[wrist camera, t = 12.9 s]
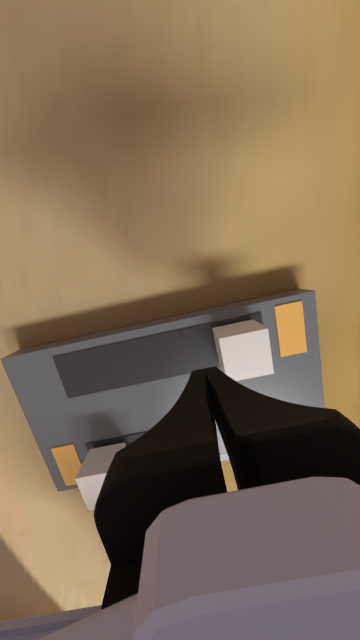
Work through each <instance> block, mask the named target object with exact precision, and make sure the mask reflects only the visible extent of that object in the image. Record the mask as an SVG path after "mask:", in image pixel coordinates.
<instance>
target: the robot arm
mask: <svg viewBox="0 0 360 640" xmlns="http://www.w3.org/2000/svg"><path fill="white" fill-rule="evenodd" d="M215 421H216V422H215ZM216 423H217V426H218V429H219V432H220V435H221V437H222V440H223V443H224V446H225V449H226V451H227V454H228V457H229V460H230V463H231V466H232V469H233V472H234V476H235V480H236V484H237V488H238V490H237V491H231V492H227V489H226V485H225V480H224V475H223V471H222V466H221V460H220V452H219V445H218V437H217V429H216ZM94 519H95V523H96V528H97V530H98V533H99V535H100V538H101V540H102V543H103V545H104V548H105V550H106V553H107V555H108V558H109V560H110V563H111V568H110V572H109V577H108V581H107V585H106V590H105V594H104V598H103V603H102V605H100V606H94V607H88V608H82V609H75V610H69V611H63V612H57V613H51V614H45V615H39V616H33V617H26V618H20V619H14V620H8V621H2V622H0V640H360V429H359V428H358V427H357V426H356V425H355V424H354V423H353V422H351V421H350V420H349V419H348V418H346V417H345V416H344V415H343V414H341V413H340V412H339V411H337V410H335V409H327V408H319V407H311V406H305V405H300V404H295V403H290V402H286V401H282V400H279V399H275V398H272V397H269V396H266V395H263V394H261V393H258V392H256V391H254V390H251V389H249V388H247V387H245V386H243V385H242V384H240V383H238V382H236V381H235V380H233V379H232V378H230V377H229V376H228V375H226V374H225V373H224V372H222V371H221V370H220V369H219V368H217V367H216V366H213V367H208V368H203V369H199V370H194V371H192V372H191V374H190V377H189V380H188V382H187V384H186V386H185V388H184V390H183V392H182V394H181V395H180V397H179V398H178V400H177V402H176V403H175V404H174V406H173V407H172V408H171V409H170V411H169V412H168V413H167V414H166V415H165V416H164V417H163V418H162V419H161V420H160V421H159V422H158V423H157V424H156V425H155V426H153V427H152V428H151V429H150V430H149V431H147V432H146V433H145V434H143V435H142V436H141V437H139V438H138V439H137V440H135V441H134V442H132V443H130V444H129V445H127V446H126V447H124V448H123V449H121V450H119V451H118V452H116V453H115V456H114V458H113V460H112V462H111V464H110V466H109V469H108V471H107V474H106V476H105V479H104V482H103V485H102V487H101V490H100V493H99V496H98V498H97V501H96V504H95V511H94Z"/></svg>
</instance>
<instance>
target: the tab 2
mask: <svg viewBox="0 0 360 640" xmlns="http://www.w3.org/2000/svg"><path fill="white" fill-rule="evenodd" d="M212 329H213V335H214V340H215V345H216V350H217V355H218V360H219V365H220V368H221V370H222V372H224V373H225V374H226V375H228V376H229V377H230V378H232V379H233V380H235V381H240V380H245V379H249V378H254V377H259V376H264V375H269V374H274V369H273V362H272V354H271V347H270V339H269V332H268V328H266V327H265V326H263V325H262V324H260V323H258V322H257V321H255V320H254V319H252V320H247V321H243V322H238V323H233V324H229V325H224V326H219V327H215V328H212Z"/></svg>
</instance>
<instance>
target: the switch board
mask: <svg viewBox="0 0 360 640" xmlns="http://www.w3.org/2000/svg"><path fill="white" fill-rule="evenodd" d="M252 319H254V320H255V321H257V322H258V323H260V324H262V325H263V326H265V327H266V328H268V332H269V339H270V347H271V354H272V362H273V369H274V374H269V375H264V376H259V377H254V378H249V379H245V380H240V381H236V382H238V383H240V384H242V385H243V386H245V387H247V388H249V389H251V390H254V391H256V392H258V393H261V394H263V395H266V396H269V397H272V398H275V399H279V400H282V401H286V402H290V403H295V404H300V405H305V406H311V407H319V408H324V397H323V385H322V373H321V360H320V348H319V336H318V324H317V312H316V300H315V291H313V290H306V289H296V290H291V291H286V292H282V293H277V294H273V295H268V296H263V297H259V298H254V299H250V300H245V301H241V302H236V303H231V304H227V305H222V306H218V307H213V308H209V309H204V310H199V311H195V312H190V313H186V314H181V315H177V316H172V317H167V318H163V319H158V320H154V321H149V322H145V323H140V324H135V325H131V326H126V327H122V328H117V329H112V330H108V331H103V332H99V333H94V334H90V335H85V336H80V337H76V338H71V339H67V340H62V341H58V342H53V343H48V344H44V345H39V346H35V347H30V348H26V349H21V350H18V351H16V352H14V353H12V354H10V355H8V356H6V357H4V358H2V359H1V361H2V364H3V366H4V368H5V371H6V373H7V375H8V377H9V380H10V382H11V384H12V387H13V389H14V391H15V394H16V396H17V398H18V400H19V403H20V405H21V407H22V410H23V412H24V414H25V417H26V419H27V421H28V423H29V426H30V428H31V430H32V433H33V435H34V437H35V440H36V442H37V444H38V446H39V449H40V451H41V453H42V456H43V458H44V460H45V463H46V465H47V467H48V469H49V472H50V474H51V476H52V479H53V481H54V483H55V486H56V488H57V490H58V491H63V490H68V489H73V488H79V487H78V485H77V482H76V480H75V478H76V476H77V474H78V472H79V470H80V468H81V466H82V464H83V462H84V460H85V458H86V456H87V454H88V452H89V450H90V449H93V448H98V447H103V446H108V445H114V444H119V443H124V442H125V444H126V446H127V445H129V444H130V443H132V442H134V441H135V440H137V439H138V438H139V437H141V436H142V435H143V434H145V433H146V432H147V431H149V430H150V429H151V428H152V427H153V426H155V425H156V424H157V423H158V422H159V421H160V420H161V419H162V418H163V417H164V416H165V415H166V414H167V413H168V412H169V411H170V409H171V408H172V407H173V406H174V404H175V403H176V402H177V400H178V398H179V397H180V395H181V394H182V392H183V390H184V388H185V386H186V384H187V382H188V380H189V377H190V374H191V372H192V371H194V370H199V369H203V368H208V367H213V366H216V367H217V368H219V369H220V370H221V368H220V365H219V360H218V355H217V350H216V345H215V340H214V335H213V329H212V328H215V327H219V326H224V325H229V324H233V323H238V322H243V321H247V320H252ZM221 371H222V370H221ZM215 422H216V421H215ZM216 429H217V437H218V445H219V452H220V460H221V461H224V460H229V457H228V454H227V451H226V449H225V446H224V443H223V440H222V437H221V435H220V432H219V429H218V426H217V423H216Z"/></svg>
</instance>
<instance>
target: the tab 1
mask: <svg viewBox="0 0 360 640" xmlns="http://www.w3.org/2000/svg"><path fill="white" fill-rule="evenodd" d="M124 447H126V444H125V442H124V443H119V444H114V445H108V446H103V447H98V448H93V449H90V450H89V452H88V454H87V456H86V458H85V460H84V462H83V464H82V466H81V468H80V470H79V472H78V474H77V476H76V478H75V480H76V482H77V485H78V487H79V490H80V492H81V495H82V497H83V500H84V502H85V505H86V507H87V509H88V511H90V510H95V504H96V501H97V498H98V496H99V493H100V490H101V487H102V485H103V482H104V479H105V476H106V474H107V471H108V469H109V466H110V464H111V462H112V460H113V458H114V456H115V453H116V452H118V451H119V450H121V449H123V448H124Z"/></svg>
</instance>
